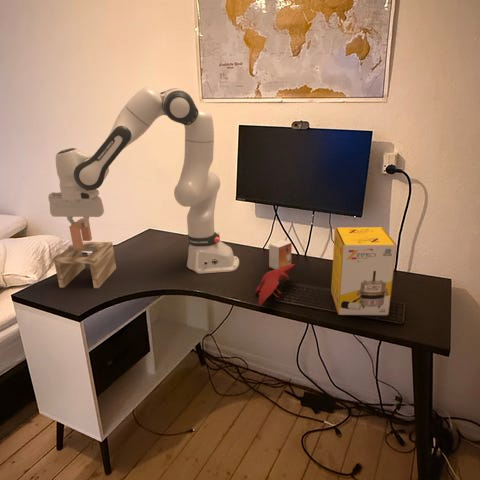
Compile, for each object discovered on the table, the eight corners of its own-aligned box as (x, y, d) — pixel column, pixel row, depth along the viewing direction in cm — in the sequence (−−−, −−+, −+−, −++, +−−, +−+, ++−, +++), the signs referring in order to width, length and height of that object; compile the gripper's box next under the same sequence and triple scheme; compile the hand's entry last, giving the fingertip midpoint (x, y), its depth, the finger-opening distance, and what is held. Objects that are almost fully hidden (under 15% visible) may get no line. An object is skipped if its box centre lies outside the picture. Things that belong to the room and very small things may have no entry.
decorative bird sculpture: (252, 324, 138) (281, 301, 130) (234, 304, 139) (261, 280, 131) (281, 288, 162) (307, 267, 154) (265, 271, 162) (290, 249, 154)
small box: (278, 271, 166) (278, 247, 163) (268, 267, 170) (268, 244, 166) (291, 265, 171) (292, 242, 167) (281, 261, 175) (282, 238, 171)
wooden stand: (116, 268, 174) (111, 237, 169) (98, 288, 157) (93, 255, 152) (80, 267, 175) (74, 237, 170) (59, 287, 159) (52, 254, 154)
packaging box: (376, 291, 148) (382, 227, 139) (388, 315, 133) (396, 244, 124) (331, 291, 149) (334, 227, 140) (338, 315, 134) (343, 245, 125)
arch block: (80, 248, 156) (76, 226, 153) (73, 248, 156) (69, 226, 153) (92, 239, 165) (88, 218, 162) (85, 239, 166) (81, 218, 162)
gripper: (43, 194, 151) (50, 229, 156) (95, 194, 149) (101, 229, 154) (51, 190, 157) (58, 224, 162) (102, 190, 155) (107, 224, 160)
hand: (79, 226), depth 158 cm, fingers closed on arch block, 3 cm apart
